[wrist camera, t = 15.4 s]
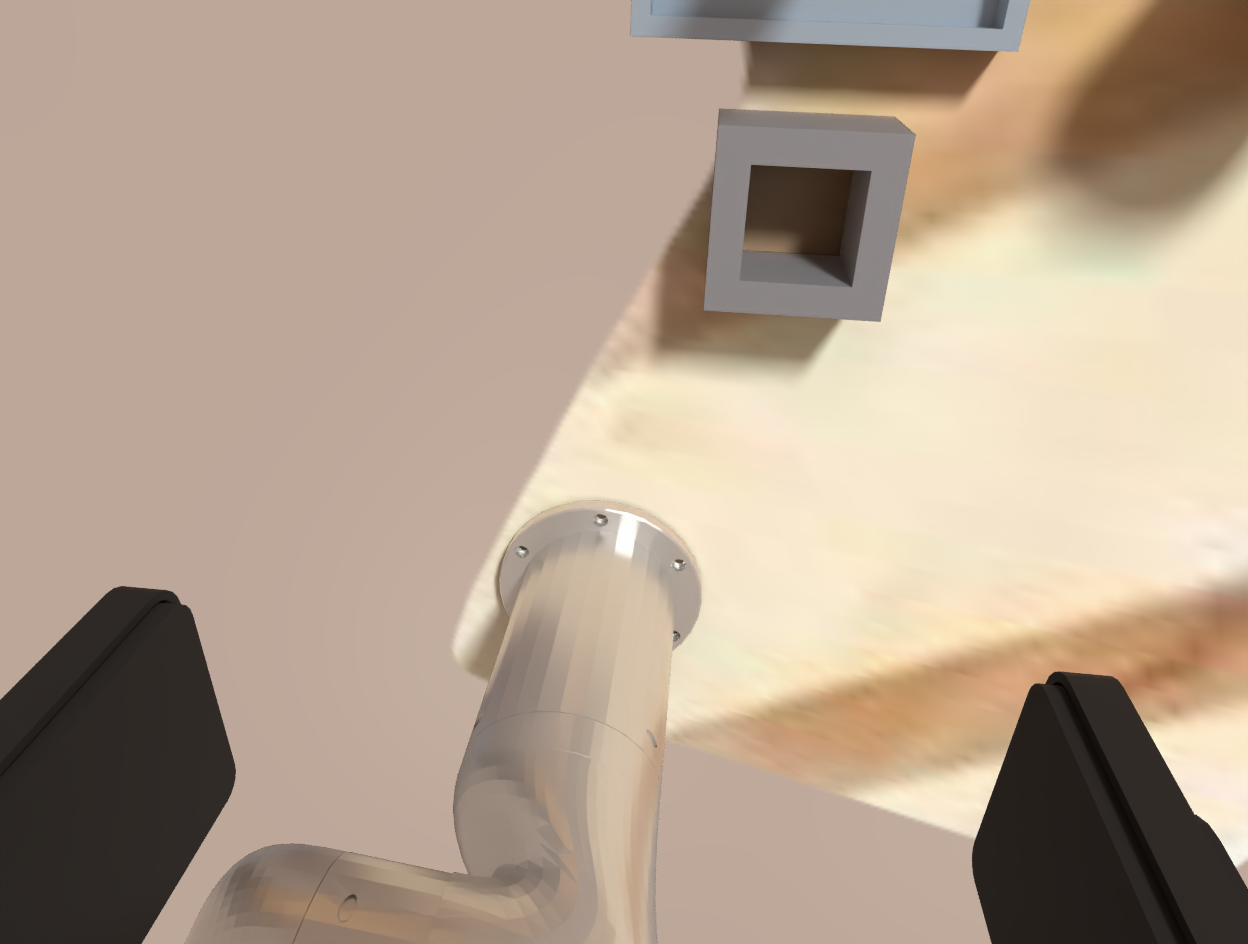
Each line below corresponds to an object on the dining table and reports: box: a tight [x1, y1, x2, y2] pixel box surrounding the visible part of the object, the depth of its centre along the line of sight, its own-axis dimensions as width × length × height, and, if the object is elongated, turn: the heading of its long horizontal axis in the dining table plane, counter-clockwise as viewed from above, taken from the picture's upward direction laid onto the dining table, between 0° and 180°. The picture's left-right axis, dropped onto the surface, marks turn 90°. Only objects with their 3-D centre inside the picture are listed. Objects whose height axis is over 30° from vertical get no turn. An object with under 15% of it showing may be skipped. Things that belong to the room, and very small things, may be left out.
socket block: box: [704, 109, 916, 322], centre depth 40 cm, size 8×8×5 cm
